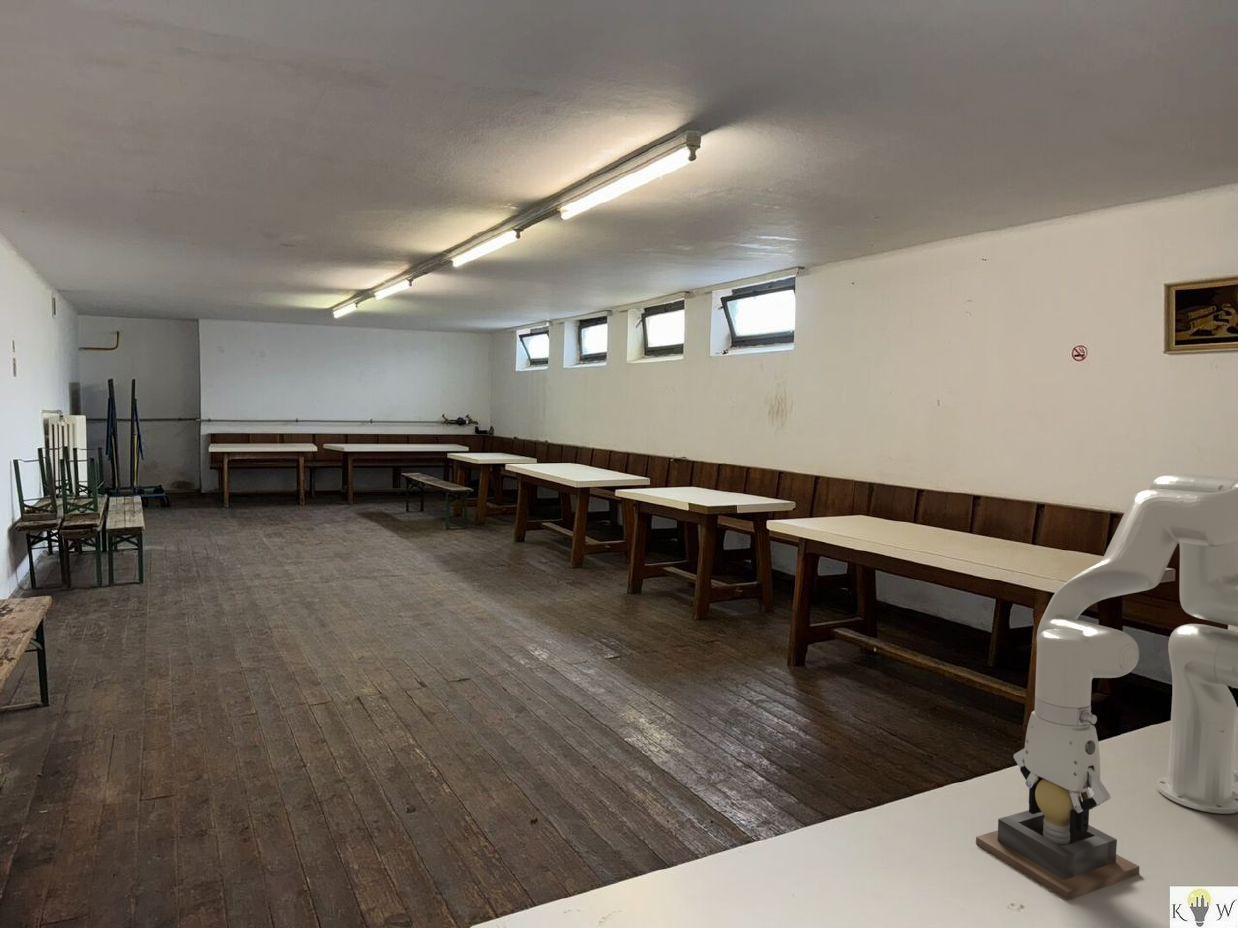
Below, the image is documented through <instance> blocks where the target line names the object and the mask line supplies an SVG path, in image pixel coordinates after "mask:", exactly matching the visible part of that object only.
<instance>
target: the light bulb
mask: <svg viewBox="0 0 1238 928" xmlns="http://www.w3.org/2000/svg"><path fill="white" fill-rule="evenodd" d="M1079 795H1080V798H1081V801H1083V800H1082V797H1081V794H1080V793H1079ZM1035 798H1036V802H1037V805H1038V807H1039V808H1040V810H1041V811H1042V813H1043V814H1044V816H1045V818H1044V821H1043V822H1044V825H1043V829H1044V830H1043V836H1044V837H1045V838H1047V839H1049V840H1051V841H1053V842H1054V843H1056V844H1058V845H1065V844H1068V843H1069V842H1070V833H1069V829H1070V811H1071V810H1072V809H1074V806H1073V802H1072V799H1071V796H1070V793H1069V790H1066V789H1064V788H1062V787H1060V786H1058V785H1056V784H1054V783H1052V782H1050V781H1047V780H1045V779H1042V780H1041V781H1040V782H1039V783H1038V785H1037V787H1036V791H1035Z"/></svg>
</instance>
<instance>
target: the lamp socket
mask: <svg viewBox="0 0 1238 928" xmlns="http://www.w3.org/2000/svg"><path fill="white" fill-rule="evenodd" d="M1044 818H1045V816H1044V814H1043V813H1042V812H1040V813H1036V814H1031V813H1029V809H1028V810H1025V811H1021V812H1018V813H1014V814H1010V815H1007V816H1004V817H1000V818H998V820H997V821H998V822H997V830H995V831H991V832H987V833H985V834H981V835H977V836H976V837H975V839H976V840H975V844H976V845H977V846H979V847H980V848H982V849H984V850H986V851H987V852H989V854H992V855H993V856H995V857H997V858H998V859H1000V860H1001V861H1003V862H1005V863H1006V864H1008V865H1009V866H1011V867H1013V868H1014V869H1016V870H1018V871H1019V872H1021V873H1022V874H1024V875H1025V876H1027V877H1029V878H1031V880H1034V881H1036V882H1037V883H1038V884H1041V885H1042V886H1044V887H1045V888H1047V889H1048V890H1050V891H1052V892H1053V893H1055V894H1057V895H1058V896H1059V897H1061V898H1063V899H1064V900H1066V901H1069V900H1072V899H1074V898H1078V897H1080V896H1083V895H1086V894H1088V893H1090V892H1093V891H1097V890H1099V889H1101V888H1105V887H1106V886H1111V885H1113V884H1115V883H1118V882H1122V881H1124V880H1126V879H1129V878H1132V877H1134V876H1138V875H1140V868H1141V867H1140V865H1138V864H1136V863H1134V862H1133V861H1130V860H1128V859H1126V858H1124V857H1123V856H1121V855H1119V854H1118V853H1117V845H1118V843H1117V842H1118V839H1117V838H1115V837H1113V836H1111V835H1109V834H1107V833H1106V832H1103V831H1101V830H1100V829H1097V828H1095V827H1093V826H1091V825H1088V830H1087V832H1086V833H1084V834H1080V835H1077V836H1072V835H1071V834H1070V842H1069V843H1068V844H1065V845H1058V844H1056V843H1054V842H1053V841H1051V840H1049V839H1047V838H1045V837H1044V836H1043V830H1044V829H1043V825H1044V822H1043V821H1044Z"/></svg>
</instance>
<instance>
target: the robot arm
mask: <svg viewBox="0 0 1238 928" xmlns="http://www.w3.org/2000/svg"><path fill="white" fill-rule="evenodd" d="M1178 544H1179V602H1180V606H1181V609H1183V611H1184V612H1185V613H1186V614H1188V615H1190V616H1192V617H1195V618H1196V619H1197V618H1198V619H1202V620H1205V621H1209V622H1213V623H1218V624H1224V625H1228V626H1232V627H1237V628H1238V477H1235V478H1234V477H1226V476H1225V477H1224V476H1222V477H1221V476H1212V475H1201V474H1188V473H1187V474H1185V473H1184V474H1183V473H1176V474H1175V473H1173V474H1165V475H1160V476H1158V477H1157V478H1155V479H1153V481H1152V482H1151V484H1150V488H1149V489H1145V490H1142V491H1139V492H1138V493H1136V494H1135V495H1134V496H1133V497H1132V498H1131V500H1130V501H1129V504H1128V505H1127V507H1126V509H1125V511H1124V513H1123V515H1122V517H1121V519H1120V521H1119V524H1118V525H1117V528H1116V530H1115V532H1114V535H1113V536H1112V539H1111V540H1110V543H1109V544H1108V546H1107V548H1106V551H1105V553H1104V555H1103V557H1102V559H1101V560H1100V561H1099V562H1097V563H1096V564H1094V565H1092V566H1090V567H1088V568H1086V569H1085V570H1083V571H1081V572H1079V573H1078V574H1077V575H1075V576H1073V577H1072V578H1070V579H1068V581H1066V582H1065V583H1064V584H1063V585H1061V586H1060V587H1059V588H1058V589H1057V590H1056V592H1054V594H1053V595H1052V597H1051V598H1050V601H1049V603H1048V605H1047V607H1046V609H1045V611H1044V613H1043V614H1042V617H1041V619H1040V622H1039V624H1038V627H1037V631H1036V632H1037V633H1036V661H1035V662H1036V665H1035V690H1034V691H1035V692H1034V710H1033V711H1031V713H1030V717H1029V720H1028V723H1027V729H1026V734H1025V741H1024V748H1022V749H1020V750H1019V751H1017V752H1015V753H1014V754H1013V759H1014V761H1015V762H1016V764H1017V766H1018V767H1019V768H1020V769H1019V770H1020V773H1021V775H1022V776H1023V778H1024V779H1025V786H1026V787H1027V788H1028V810H1029V813H1031V814H1036V813H1040V812H1042V811H1041V810H1040V808H1039V807H1038V805H1037V802H1036V798H1035V791H1036V787H1037V785H1038V783H1039V782H1040V781H1041V780H1042V779H1045V780H1047V781H1050V782H1052V783H1054V784H1056V785H1058V786H1060V787H1062V788H1064V789H1066V790H1069V793H1070V796H1071V799H1072V802H1073V806H1074V809H1072V810H1071V811H1070V829H1069V833H1070V834H1071V835H1072V836H1077V835H1080V834H1084V833H1086V832H1087V830H1088V825H1089V822H1090V821H1089V820H1090V818H1089V817H1090V810H1093V809H1095V808H1096V807H1098V806H1100V805H1101V804H1104V803H1105V802H1108V800H1110V799H1111V798H1112V797H1111V794H1110V793H1109V791H1108V790H1107V788H1106V787H1105V785H1104V784H1103V782H1102V781H1101V755H1100V744H1099V739H1098V734H1097V729H1096V726H1095V724H1097V721H1098V717H1097V715H1095V714H1092V712H1091V711H1092V705H1091V703H1092V702H1091V701H1092V681H1093V679H1094V678H1095V679H1099V678H1100V679H1103V678H1104V679H1112V678H1113V679H1114V678H1120V677H1123V676H1125V675H1128V674H1129V673H1130V672H1132V671H1133V670H1134V669H1135V668H1136V666H1137V664H1138V662H1139V660H1140V648H1139V645H1138V643H1137V642H1136V640H1135V639H1134V638H1133V637H1132V636H1131V635H1129V634H1128V633H1126V632H1124V631H1122V630H1119V629H1115V628H1112V627H1108V626H1104V625H1101V624H1097V623H1092V622H1089V621H1084V620H1081V619H1079V616H1080V615H1081V614H1082V613H1083V612H1084V611H1085V610H1087V608H1089V607H1091V606H1092V605H1094V604H1096V603H1098V602H1100V601H1102V600H1103V601H1104V600H1106V599H1110V598H1115V597H1120V596H1124V595H1130V594H1134V593H1140V592H1144V591H1149V590H1151V589H1152V590H1153V589H1154V588H1156V587H1157V586H1158V585H1159V584H1160V582H1161V581H1162V579H1163V575H1164V574H1165V572H1166V569H1167V567H1168V565H1169V563H1170V561H1171V558H1172V556H1173V555H1174V551H1175V549H1176V548H1177V546H1178ZM1167 647H1168V648H1167V650H1168V656H1169V657H1168V659H1169V664H1170V670H1171V679H1172V680H1171V681H1172V696H1171V712H1170V729H1169V730H1170V732H1169V746H1168V747H1169V749H1168V751H1169V753H1168V766H1167V768H1168V769H1167V775H1164V776H1162V777H1159V778H1158V779H1157V783H1156V787H1157V790H1158V791H1159V792H1160V794H1162V796H1164V797H1165V798H1167V799H1169V800H1170V801H1171V802H1175V803H1176V804H1178V805H1181V806H1184V807H1187V808H1190V809H1194V810H1197V811H1201V812H1206V813H1212V814H1219V815H1220V814H1222V815H1223V814H1224V815H1225V814H1226V815H1227V814H1237V813H1238V793H1236V792H1235V791H1234V785H1235V783H1238V770H1237V769H1235V762H1236V761H1235V759H1236V757H1235V756H1236V744H1237V743H1236V741H1237V727H1238V725H1237V724H1238V706H1237V703H1236V700H1235V698H1234V696H1233V693H1232V692H1231V691H1230V690H1231V689H1229V687H1232V688H1235V689H1238V631H1235V630H1230V629H1226V628H1221V627H1217V626H1212V625H1208V624H1201V623H1200V624H1199V623H1188V624H1183V625H1180V626H1178V627H1176V628H1174V630H1173V631H1172V632H1171V634H1170V636H1169V640H1168V646H1167ZM1089 788H1090V789H1091V790H1092V792H1093V795H1092V796H1091V793H1090V790H1089ZM1079 793H1080V795H1081V798H1080V795H1079ZM1081 799H1082V801H1081Z"/></svg>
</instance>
